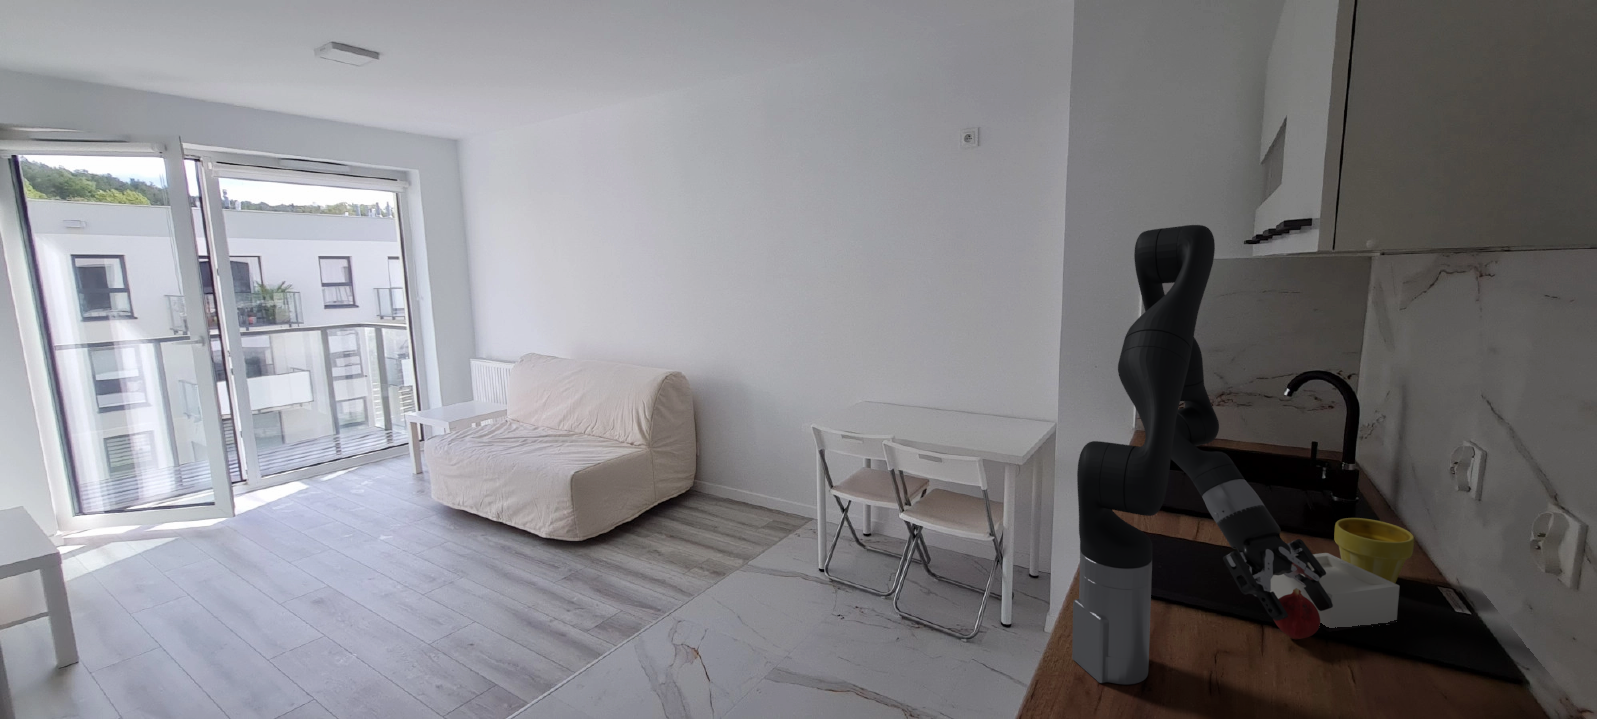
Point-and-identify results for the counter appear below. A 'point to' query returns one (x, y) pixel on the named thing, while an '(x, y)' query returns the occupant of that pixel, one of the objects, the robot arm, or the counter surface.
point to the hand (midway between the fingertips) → (1304, 613)
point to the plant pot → (1374, 546)
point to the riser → (1347, 593)
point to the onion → (1298, 616)
